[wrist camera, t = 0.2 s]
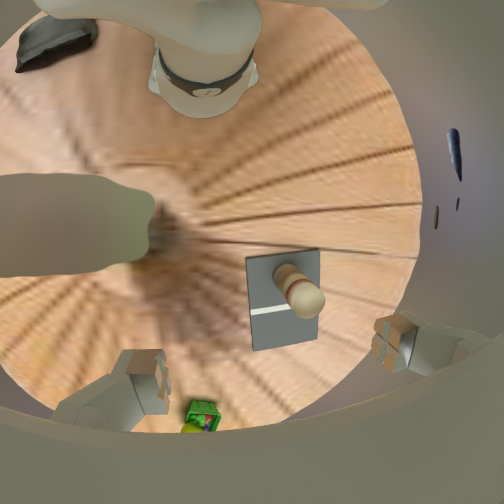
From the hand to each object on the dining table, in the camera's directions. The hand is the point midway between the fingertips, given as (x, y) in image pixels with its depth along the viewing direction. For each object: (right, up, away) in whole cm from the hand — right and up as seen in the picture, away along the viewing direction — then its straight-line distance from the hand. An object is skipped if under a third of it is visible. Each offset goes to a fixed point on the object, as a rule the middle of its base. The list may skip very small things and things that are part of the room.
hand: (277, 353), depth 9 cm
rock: (-38, +44, +21) cm, 62 cm away
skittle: (+5, -1, +41) cm, 41 cm away
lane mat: (+5, -6, +44) cm, 44 cm away
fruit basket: (-14, -35, +48) cm, 62 cm away
